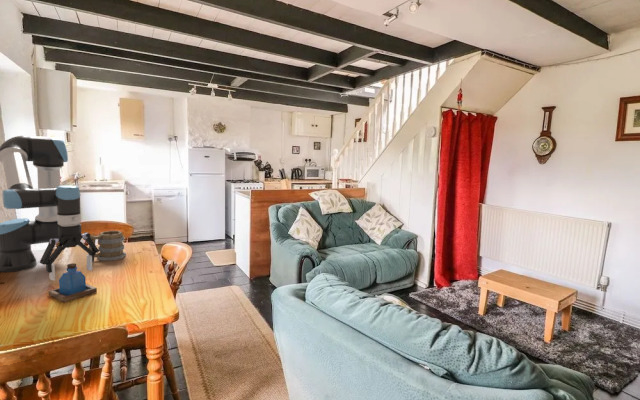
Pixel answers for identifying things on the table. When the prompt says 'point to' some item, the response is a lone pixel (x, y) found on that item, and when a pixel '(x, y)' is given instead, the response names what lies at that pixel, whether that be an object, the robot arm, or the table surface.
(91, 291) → the walnut tray
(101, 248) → the tankard
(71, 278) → the perfume bottle
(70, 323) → the table surface
